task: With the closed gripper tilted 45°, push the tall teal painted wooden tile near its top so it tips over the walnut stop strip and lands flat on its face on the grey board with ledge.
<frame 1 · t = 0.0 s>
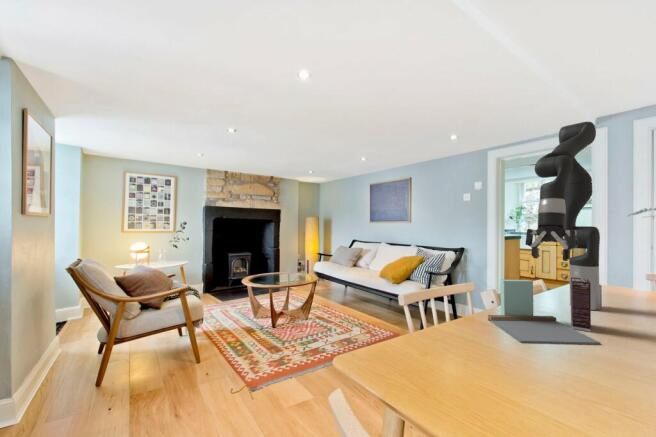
hand: (549, 259, 100), 22 cm above the table, tool pointing down, fingers open, 8 cm apart
tile: (516, 318, 106), on the table
supplement box: (580, 327, 98), on the table
grey board with ledge: (537, 330, 94), on the table
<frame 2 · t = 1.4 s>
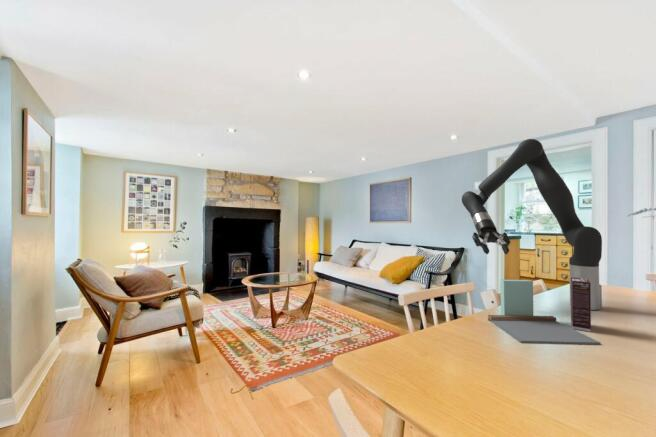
hand: (497, 252, 120), 23 cm above the table, tool tilted 45°, fingers open, 7 cm apart
nothing on the table moved.
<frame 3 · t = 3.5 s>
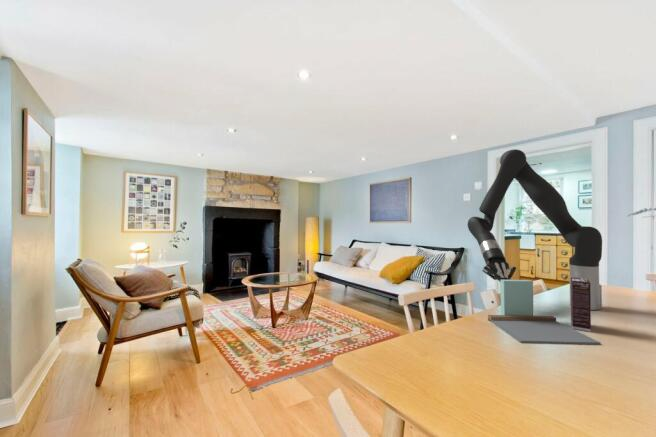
hand: (507, 288, 112), 10 cm above the table, tool tilted 45°, fingers closed
nothing on the table moved.
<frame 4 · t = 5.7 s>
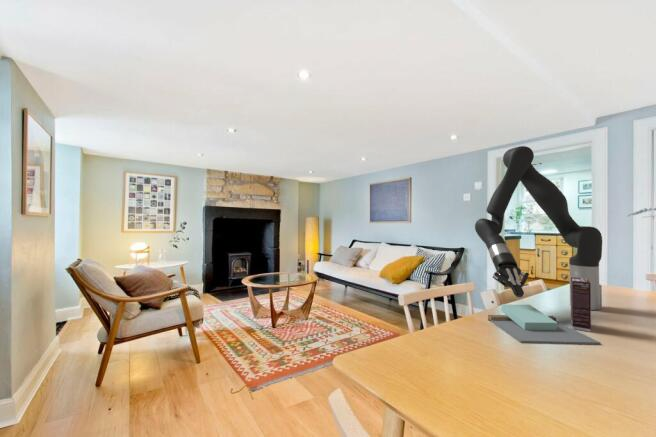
hand: (520, 296, 104), 9 cm above the table, tool tilted 45°, fingers closed
tile: (515, 307, 107), point 4 cm above the table, tilted 98°, touching grey board with ledge
everything else where it was.
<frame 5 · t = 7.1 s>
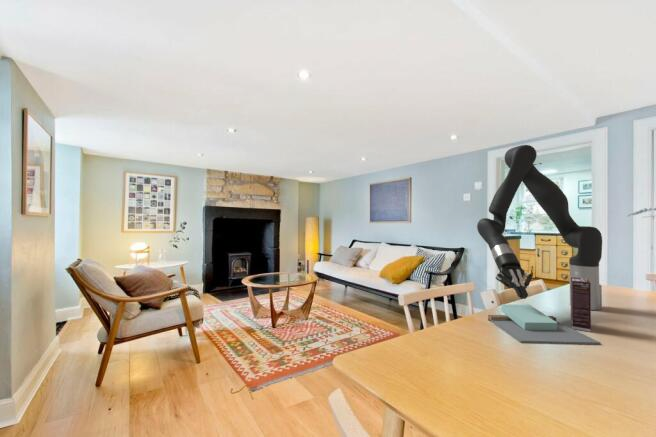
hand: (524, 297, 101), 9 cm above the table, tool tilted 45°, fingers closed
nothing on the table moved.
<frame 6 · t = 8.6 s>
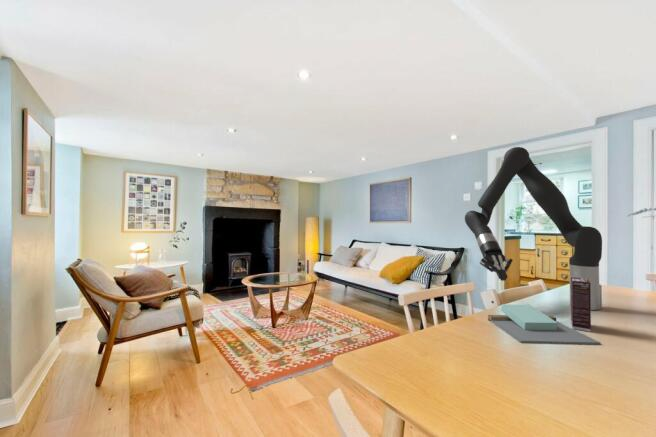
hand: (504, 279, 115), 13 cm above the table, tool tilted 45°, fingers closed
nothing on the table moved.
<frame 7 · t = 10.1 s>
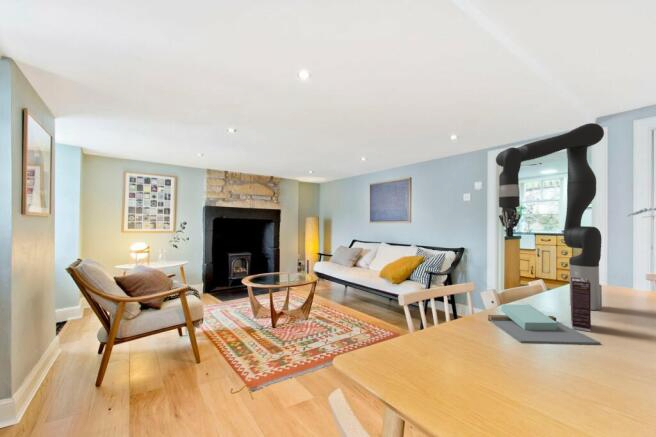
hand: (509, 236, 123), 29 cm above the table, tool pointing down, fingers closed
nothing on the table moved.
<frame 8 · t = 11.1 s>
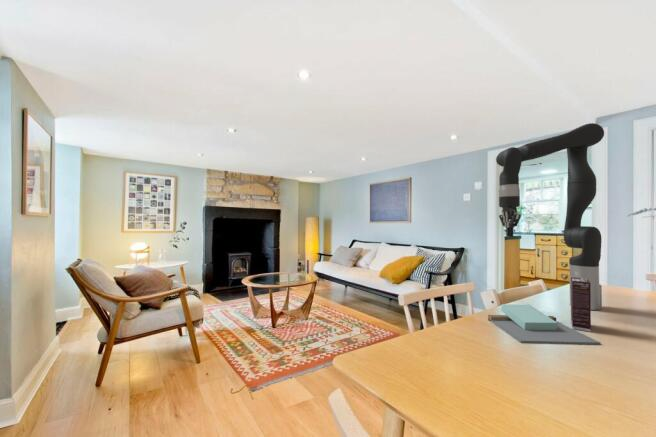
hand: (509, 236, 123), 29 cm above the table, tool pointing down, fingers closed
nothing on the table moved.
at the end: tile tilted 98°; tile touching grey board with ledge; the gripper is holding nothing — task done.
